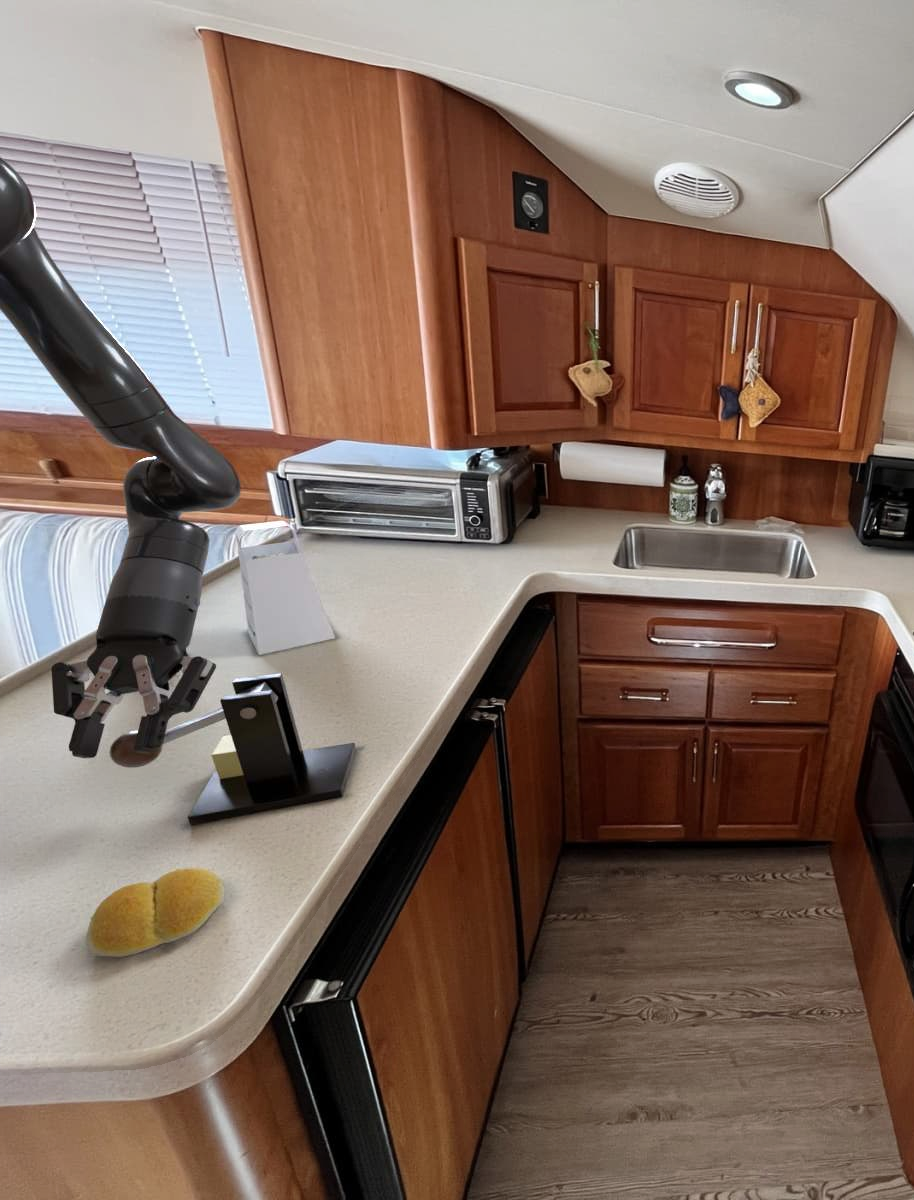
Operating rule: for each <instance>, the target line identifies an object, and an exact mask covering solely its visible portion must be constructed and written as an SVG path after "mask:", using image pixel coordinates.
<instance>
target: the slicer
mask: <svg viewBox="0 0 914 1200" xmlns="http://www.w3.org/2000/svg"><path fill="white" fill-rule="evenodd" d="M264 682H265V683H266V684H267V685H268V686H269V687H270V688H271V689H272V690H269V691H261V692H253V693H244V694H238V693H239V692H242V691H244V690H247V689H249V688H252V687H254V686H257V685H259V684H262V683H264ZM231 684H232V688H233V690H234V694H228V695H222V697H221V698H220V700H219V702H220V706H221V708H223V711H224V715H225V718H226V719H225V720H226V724H227V728H228V730H229V733H230V735H231V737H232V740H233V743H234V746H235V749H236V752H237V756H238V759H239V762H240V765H241V768H242V771H243V775H241V776H235V777H229V778H223V779H219V777H218V774H217V771H216V769H214V771H213V773H212V775H211V776H210V778H209V780H208V781H207V783H206V785H205V787H204V788H203V790H202V792H201V793H200V795H199V797H198V799H197V801H196V802H195V804H194V806H192V809H191V810H190V812H189V813H188V816H187V820H188V823H189V825H190V826H197V825H202V824H207V823H212V822H217V821H224V820H229V819H235V818H239V817H244V816H251V815H255V814H256V815H257V814H261V813H266V812H267V813H268V812H271V811H277V810H282V809H288V808H293V807H299V806H305V805H310V804H315V803H321V802H326V801H332V800H336V799H341V798H343V796H344V793H345V790H346V786H347V783H348V779H349V775H350V772H351V769H352V765H353V761H354V758H355V755H356V752H357V748H356V743H355V742H350V743H344V744H337V745H330V746H323V747H317V748H311V749H305V750H303V747H302V742H301V739H300V736H299V735H300V734H299V732H298V728H297V725H296V724H297V723H296V721H295V720H296V719H295V717H294V713H293V709H292V705H291V703H290V697H289V694H288V691H287V687H286V684H285V680H284V676H283V673H272V674H263V675H255V676H247V677H246V676H245V677H235V678H234V680H233V681H232V682H231ZM273 692H274V693H275V694H276V695H277V696H278V699H277V701H275V697H274V693H273Z"/></svg>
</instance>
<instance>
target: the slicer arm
mask: <svg viewBox="0 0 914 1200" xmlns="http://www.w3.org/2000/svg"><path fill="white" fill-rule="evenodd" d="M269 690H272V689H271V688H270V687H269V686H268V685H267V684H266V683H265V682H264V683H262V684H259V685H257V686H254V687H252V688H249V689H247V690H244V691H242V692H239V693H238V694H244V693H253V692H261V691H269ZM273 693H274V692H273ZM274 697H275V701H277V699H278V696H277V695H276V694H275V693H274ZM223 720H226V718H225V715H224V711H223V708H222V707H220V708H218V709H216V710H213V711H210V712H208V713H206V714H203V715H201V716H198V717H196V718H193V719H191V720H188V721H185V722H184V723H181V724H178V725H176V726H174V727H171V728H168V729H166V732H165V736H164V741H163V743H162V745H161V746H160V747H159V748H157V749H156V751H155V753H151V754H142V753H138V752H135V751H134V745H135V741H136V737H137V733H138V730H130V731H128V732H126V733H123V734H121V735H120V736H118V737H117V738H116V739H115V740H114V741H113V742H112V744H111V745H110V747H109V757H110V759H111V760H112V761H113V762H114V763H115V764H116V765H118V766H120V767H123V768H130V769H135V768H140V767H141V768H142V767H144V766H147V765H149V764H151V763H152V762H154V761H155V760H156V759H157V758H158V757H159V756H160V755H161V753H162V751H163V745H165V744H167V743H170V742H172V741H175V740H177V739H179V738H182V737H185V736H187V735H189V734H191V733H194V732H196V731H199V730H201V729H204V728H206V727H208V726H212V725H214V724H216V723H218V722H220V721H223Z"/></svg>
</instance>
